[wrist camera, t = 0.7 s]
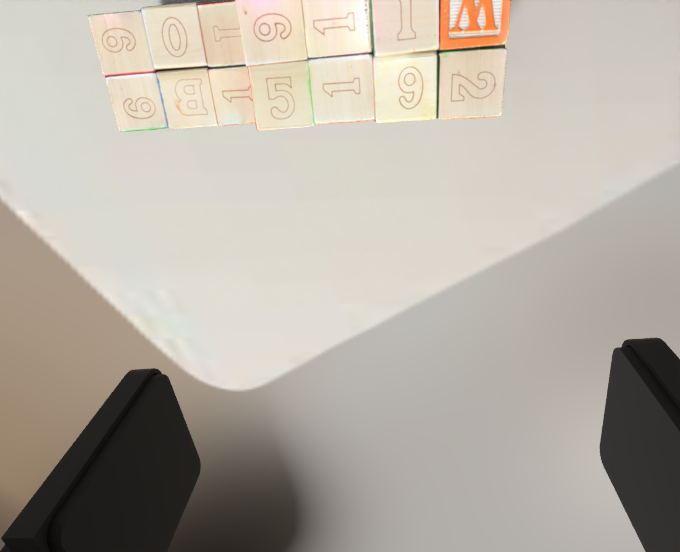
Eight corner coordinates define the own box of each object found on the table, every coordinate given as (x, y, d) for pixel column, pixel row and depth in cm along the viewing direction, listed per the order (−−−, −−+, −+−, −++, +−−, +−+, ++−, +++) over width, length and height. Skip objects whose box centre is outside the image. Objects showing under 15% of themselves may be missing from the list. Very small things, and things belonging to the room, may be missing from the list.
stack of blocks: (179, 111, 36) (86, 142, 25) (159, 17, 33) (46, 6, 22) (467, 92, 34) (504, 118, 23) (472, -10, 31) (517, -38, 20)
